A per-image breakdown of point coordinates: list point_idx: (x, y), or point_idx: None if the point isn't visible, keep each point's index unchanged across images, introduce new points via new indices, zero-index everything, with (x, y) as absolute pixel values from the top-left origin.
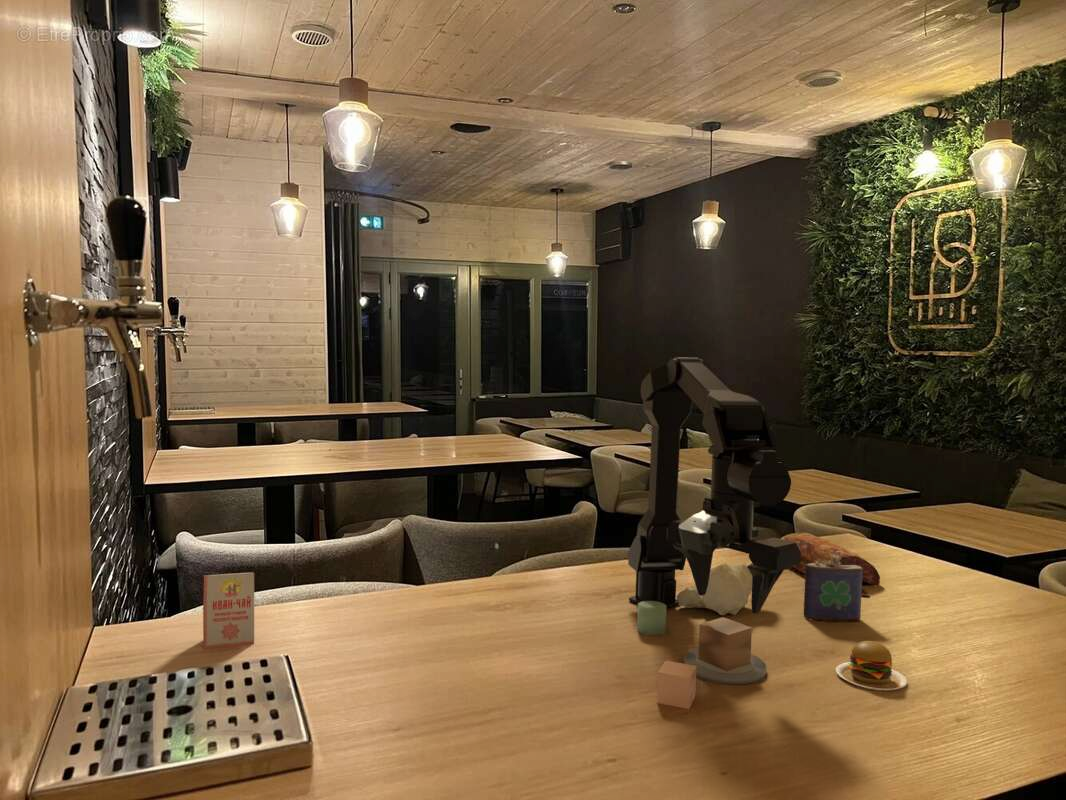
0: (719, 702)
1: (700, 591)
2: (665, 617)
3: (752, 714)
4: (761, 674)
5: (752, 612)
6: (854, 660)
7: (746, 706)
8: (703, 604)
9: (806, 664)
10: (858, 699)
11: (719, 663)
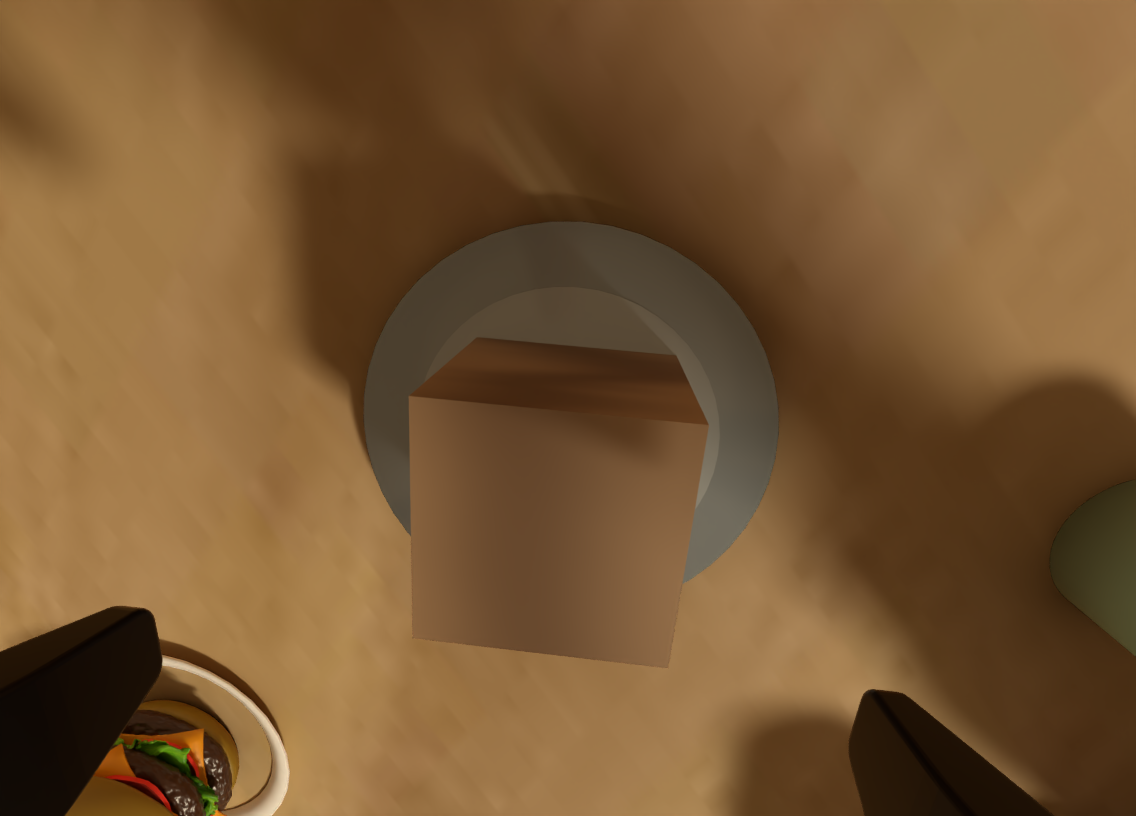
0: (312, 35)
1: (891, 722)
2: (1123, 631)
3: (136, 61)
4: (370, 450)
5: (136, 607)
6: (143, 764)
7: (214, 119)
8: None
9: (379, 699)
10: (67, 560)
11: (523, 347)
